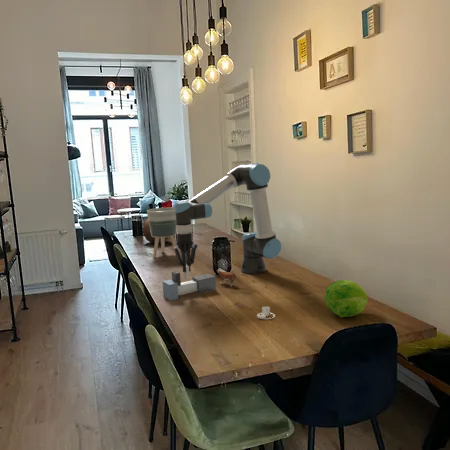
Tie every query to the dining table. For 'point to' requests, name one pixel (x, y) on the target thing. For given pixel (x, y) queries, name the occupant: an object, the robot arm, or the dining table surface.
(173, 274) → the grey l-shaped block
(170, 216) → the planter
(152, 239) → the pottery
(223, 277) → the bull figurine
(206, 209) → the robot arm
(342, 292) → the lettuce
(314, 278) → the dining table surface
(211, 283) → the grey rectangular block
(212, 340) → the dining table surface
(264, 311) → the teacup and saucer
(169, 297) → the blue-grey block
